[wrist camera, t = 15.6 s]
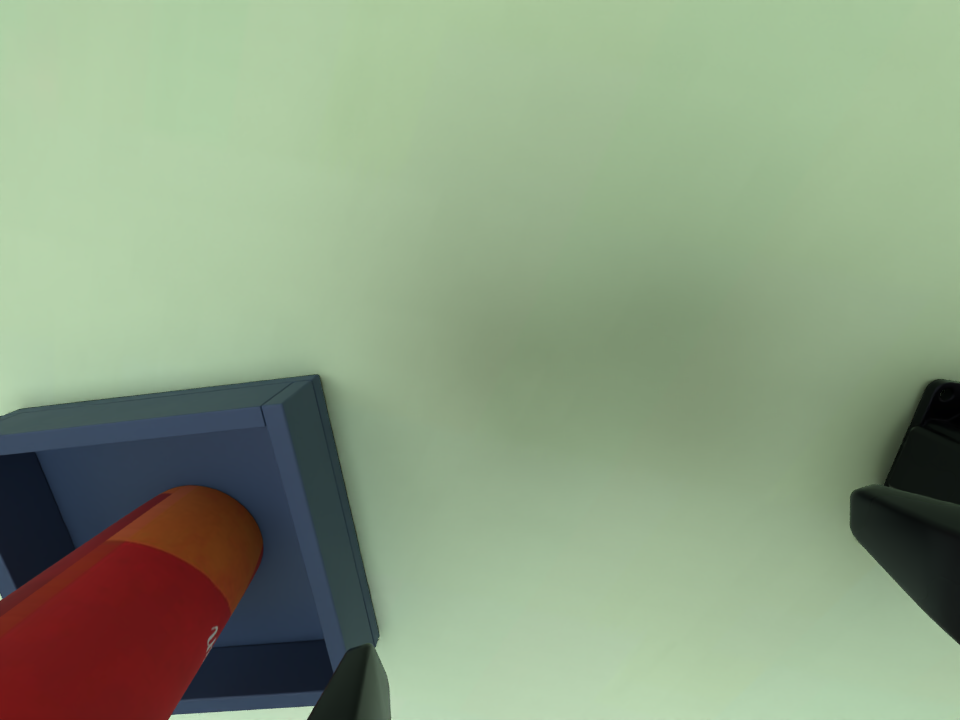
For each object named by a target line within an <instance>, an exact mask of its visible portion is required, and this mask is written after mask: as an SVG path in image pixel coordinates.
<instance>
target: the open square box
mask: <svg viewBox="0 0 960 720" xmlns="http://www.w3.org/2000/svg"><path fill="white" fill-rule="evenodd" d="M187 485H196V486H204V487H209V488H212V489H215V490H218V491H221V492H223V493H225V494H227V495H229V496H230V497H232V498H233V499H235V500H236V501H238V502H239V503H240V504H241V505H242V506H244V507H245V508H246V509H247V511H248V512H249V513H250V514H251V515H252V517H253V518H254V520H255V521H256V523H257V525H258V527H259V529H260V532H261V535H262V539H263V556H262V560H261V563H260V565H259V567H258V570H257V572H256V573H255V575H254V577H253V579H252V581H251V583H250V584H249V586H248V588H247V589H246V591H245V593H244V595H243V596H242V598H241V600H240V602H239V603H238V605H237V607H236V608H235V610H234V612H233V613H232V615H231V617H230V618H229V620H228V622H227V623H226V625H225V627H224V628H223V630H222V632H221V633H220V635H219V637H218V638H217V640H216V642H215V643H214V645H213V647H212V648H211V650H210V652H209V653H208V655H207V657H206V658H205V660H204V662H203V663H202V665H201V667H200V668H199V670H198V671H197V673H196V675H195V676H194V678H193V680H192V681H191V683H190V685H189V686H188V688H187V690H186V691H185V693H184V695H183V696H182V698H181V700H180V701H179V703H178V704H177V706H176V708H175V709H174V711H173V713H172V714H171V715H175V714H191V713H207V712H223V711H239V710H256V709H272V708H288V707H304V706H315V705H316V703H317V701H318V700H319V698H320V696H321V694H322V693H323V691H324V689H325V687H326V686H327V684H328V682H329V681H330V679H331V677H332V675H333V674H334V672H335V670H336V668H337V667H338V665H339V663H340V661H341V660H342V658H343V656H344V654H345V653H346V652H347V651H348V650H349V649H350V648H353V647H356V646H359V645H362V644H366V643H371V644H372V645H373V646H374V647H376V644H377V641H378V638H379V632H378V628H377V623H376V619H375V615H374V610H373V606H372V602H371V597H370V593H369V589H368V584H367V580H366V576H365V572H364V567H363V563H362V559H361V554H360V550H359V546H358V541H357V537H356V533H355V528H354V524H353V520H352V515H351V511H350V507H349V502H348V498H347V494H346V490H345V485H344V481H343V477H342V472H341V468H340V464H339V459H338V455H337V451H336V446H335V442H334V438H333V433H332V429H331V425H330V420H329V416H328V412H327V408H326V403H325V399H324V395H323V390H322V386H321V382H320V377H319V375H308V376H299V377H291V378H282V379H274V380H265V381H256V382H248V383H239V384H231V385H222V386H213V387H205V388H196V389H187V390H179V391H170V392H162V393H153V394H144V395H136V396H127V397H119V398H110V399H101V400H93V401H84V402H75V403H67V404H58V405H50V406H41V407H32V408H24V409H19V410H16V411H14V412H11V413H8V414H6V415H4V416H0V594H1V596H2V598H3V599H4V598H5V597H6V596H8V595H9V594H11V593H12V592H14V591H15V590H17V589H18V588H20V587H21V586H23V585H24V584H26V583H27V582H28V581H30V580H31V579H33V578H34V577H36V576H37V575H39V574H40V573H42V572H43V571H45V570H46V569H48V568H49V567H51V566H52V565H53V564H55V563H56V562H58V561H59V560H61V559H62V558H64V557H65V556H67V555H68V554H70V553H71V552H73V551H74V550H75V549H77V548H78V547H80V546H81V545H83V544H84V543H86V542H87V541H89V540H90V539H92V538H93V537H95V536H96V535H98V534H99V533H101V532H102V531H104V530H105V529H107V528H108V527H110V526H111V525H113V524H114V523H116V522H117V521H118V520H120V519H121V518H123V517H124V516H126V515H128V514H129V513H131V512H132V511H134V510H135V509H137V508H138V507H140V506H141V505H143V504H144V503H146V502H148V501H149V500H151V499H152V498H154V497H156V496H157V495H159V494H161V493H163V492H165V491H167V490H169V489H172V488H175V487H179V486H187Z"/></svg>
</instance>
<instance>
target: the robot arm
mask: <svg viewBox="0 0 960 720" xmlns="http://www.w3.org/2000/svg"><path fill="white" fill-rule="evenodd" d="M943 390H945V391H944V393H943V395H941V396H940V394H941V392H942V391H943ZM850 528H851V531H852V533H853V535H854V537H855V538H856V539H857V541H858V542H859V543H860V544H861V545H862V546H863V547H864V548H865V549H866V550H867V551H868V552H869V554H870V555H871V556H872V557H873V558H874V559H875V560H876V561H877V562H878V563H879V564H880V565H881V566H882V567H883V568H884V569H885V571H886V572H887V573H888V574H889V575H890V576H891V577H892V578H893V579H894V580H895V581H896V582H897V583H898V584H899V585H900V586H901V588H902V589H903V590H904V591H905V592H906V593H907V594H908V595H909V596H910V597H911V598H912V599H913V600H914V601H915V602H916V603H917V605H918V606H919V607H920V608H921V609H922V610H923V611H924V612H925V613H926V614H927V615H928V616H929V617H930V618H931V619H932V620H934V621H935V622H936V623H937V624H938V625H939V626H940V627H941V628H942V629H943V630H944V631H945V632H946V633H947V634H948V635H950V636H951V637H952V638H953V639H954V640H955V641H956V642H957V643H958V644H959V645H960V382H957V381H951V380H945V379H938V380H935V381H933V382H931V383H930V384H929V385H928V386H927V387H926V389H925V391H924V393H923V396H922V398H921V400H920V403H919V405H918V407H917V410H916V412H915V414H914V416H913V419H912V421H911V423H910V426H909V428H908V430H907V433H906V435H905V437H904V439H903V442H902V444H901V446H900V449H899V451H898V453H897V456H896V458H895V460H894V462H893V465H892V467H891V469H890V472H889V474H888V476H887V479H886V481H885V483H884V485H878V484H873V485H869V486H865V487H862V488H859V489H856V490H854V491H853V492H852V493H851V496H850ZM307 720H391V710H390V691H389V683H388V678H387V675H386V672H385V670H384V668H383V665H382V663H381V661H380V659H379V656H378V654H377V652H376V649H375V647H374V646H373V645H372V644H371V643H366V644H362V645H359V646H356V647H353V648H350V649H349V650H348V651H347V652H346V653H345V654H344V656H343V658H342V660H341V661H340V663H339V665H338V667H337V668H336V670H335V672H334V674H333V675H332V677H331V679H330V681H329V682H328V684H327V686H326V687H325V689H324V691H323V693H322V694H321V696H320V698H319V700H318V701H317V703H316V705H315V707H314V708H313V710H312V712H311V714H310V715H309V717H308V719H307Z"/></svg>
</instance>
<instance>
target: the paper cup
mask: <svg viewBox="0 0 960 720" xmlns="http://www.w3.org/2000/svg"><path fill="white" fill-rule="evenodd" d="M262 556H263V539H262V535H261V532H260V529H259V527H258V525H257V523H256V521H255V520H254V518H253V517H252V515H251V514H250V513H249V512H248V511H247V509H246V508H245V507H244V506H242V505H241V504H240V503H239V502H238V501H236V500H235V499H233V498H232V497H230V496H229V495H227V494H225V493H223V492H221V491H218V490H215V489H212V488H209V487H204V486H196V485H187V486H179V487H175V488H172V489H169V490H167V491H165V492H163V493H161V494H159V495H157V496H156V497H154V498H152V499H151V500H149V501H148V502H146V503H144V504H143V505H141V506H140V507H138V508H137V509H135V510H134V511H132V512H131V513H129V514H128V515H126V516H124V517H123V518H121V519H120V520H118V521H117V522H116V523H114V524H113V525H111V526H110V527H108V528H107V529H105V530H104V531H102V532H101V533H99V534H98V535H96V536H95V537H93V538H92V539H90V540H89V541H87V542H86V543H84V544H83V545H81V546H80V547H78V548H77V549H75V550H74V551H73V552H71V553H70V554H68V555H67V556H65V557H64V558H62V559H61V560H59V561H58V562H56V563H55V564H53V565H52V566H51V567H49V568H48V569H46V570H45V571H43V572H42V573H40V574H39V575H37V576H36V577H34V578H33V579H31V580H30V581H28V582H27V583H26V584H24V585H23V586H21V587H20V588H18V589H17V590H15V591H14V592H12V593H11V594H9V595H8V596H6V597H5V598H4V599H2V600H1V601H0V720H168V719H169V718H170V716H171V714H172V713H173V711H174V709H175V708H176V706H177V704H178V703H179V701H180V700H181V698H182V696H183V695H184V693H185V691H186V690H187V688H188V686H189V685H190V683H191V681H192V680H193V678H194V676H195V675H196V673H197V671H198V670H199V668H200V667H201V665H202V663H203V662H204V660H205V658H206V657H207V655H208V653H209V652H210V650H211V648H212V647H213V645H214V643H215V642H216V640H217V638H218V637H219V635H220V633H221V632H222V630H223V628H224V627H225V625H226V623H227V622H228V620H229V618H230V617H231V615H232V613H233V612H234V610H235V608H236V607H237V605H238V603H239V602H240V600H241V598H242V596H243V595H244V593H245V591H246V589H247V588H248V586H249V584H250V583H251V581H252V579H253V577H254V575H255V573H256V572H257V570H258V567H259V565H260V563H261V560H262Z"/></svg>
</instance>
